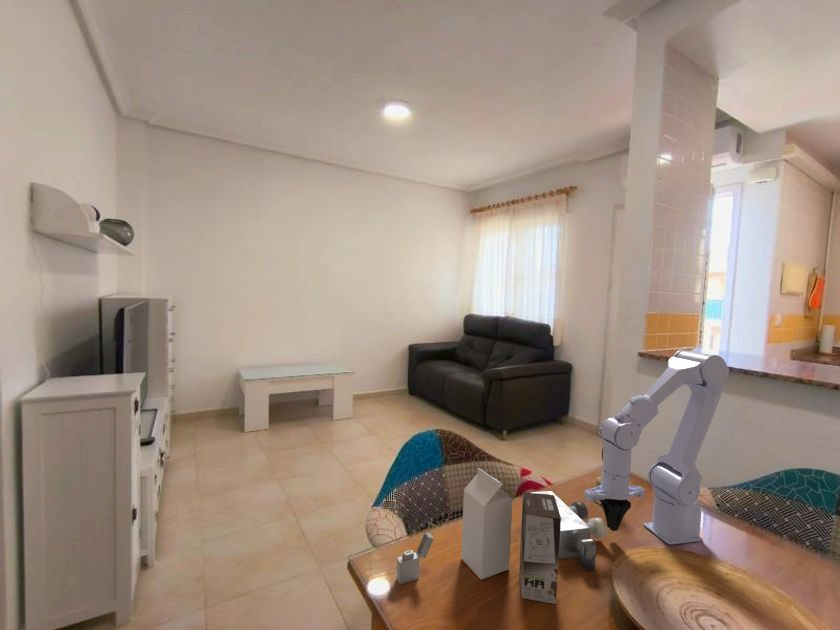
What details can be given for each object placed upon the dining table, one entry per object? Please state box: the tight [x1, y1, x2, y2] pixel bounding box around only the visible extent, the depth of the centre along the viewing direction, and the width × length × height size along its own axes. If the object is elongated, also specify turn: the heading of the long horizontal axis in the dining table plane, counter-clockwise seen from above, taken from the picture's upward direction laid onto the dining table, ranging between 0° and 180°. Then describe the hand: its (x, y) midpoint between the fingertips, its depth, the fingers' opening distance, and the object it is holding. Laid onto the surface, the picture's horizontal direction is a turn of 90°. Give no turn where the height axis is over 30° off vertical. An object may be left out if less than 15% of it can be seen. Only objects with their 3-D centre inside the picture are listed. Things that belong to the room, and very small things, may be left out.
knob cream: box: [585, 517, 608, 539], centre depth 91 cm, size 8×4×4 cm, turn 102°
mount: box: [531, 490, 591, 560], centre depth 93 cm, size 7×16×6 cm, turn 12°
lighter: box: [396, 531, 434, 585], centre depth 78 cm, size 7×2×8 cm, turn 115°
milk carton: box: [460, 467, 513, 580], centre depth 82 cm, size 7×7×19 cm
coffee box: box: [519, 491, 561, 605], centre depth 77 cm, size 9×6×16 cm
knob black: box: [568, 501, 589, 521], centre depth 98 cm, size 8×4×4 cm, turn 102°
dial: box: [578, 538, 597, 572], centre depth 82 cm, size 3×3×6 cm
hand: (612, 528), depth 92 cm, fingers closed
